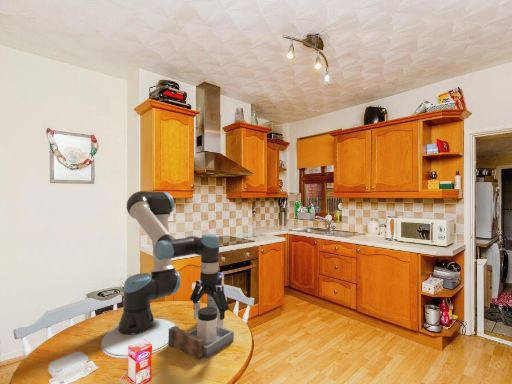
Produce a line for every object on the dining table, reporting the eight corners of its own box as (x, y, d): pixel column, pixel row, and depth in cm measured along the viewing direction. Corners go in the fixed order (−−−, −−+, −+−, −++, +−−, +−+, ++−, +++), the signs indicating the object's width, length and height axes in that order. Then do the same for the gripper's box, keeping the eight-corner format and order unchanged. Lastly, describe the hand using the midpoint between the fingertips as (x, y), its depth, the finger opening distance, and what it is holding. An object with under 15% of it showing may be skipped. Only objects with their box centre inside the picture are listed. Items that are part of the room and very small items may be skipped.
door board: (168, 345, 110) (168, 328, 110) (174, 342, 112) (175, 325, 113) (197, 361, 100) (198, 342, 100) (204, 357, 102) (204, 338, 103)
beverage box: (206, 324, 129) (207, 278, 130) (210, 314, 140) (211, 272, 141) (220, 324, 130) (222, 278, 130) (223, 314, 140) (224, 272, 141)
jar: (200, 347, 107) (201, 316, 107) (193, 337, 113) (194, 309, 114) (221, 340, 112) (221, 311, 112) (212, 332, 118) (213, 305, 119)
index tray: (180, 345, 110) (180, 335, 110) (208, 330, 123) (208, 321, 123) (206, 358, 102) (207, 348, 102) (233, 340, 115) (233, 331, 115)
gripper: (182, 268, 117) (181, 317, 117) (226, 279, 103) (224, 334, 102) (195, 265, 123) (194, 311, 123) (238, 274, 109) (236, 327, 109)
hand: (208, 322), depth 113 cm, fingers open, 13 cm apart
